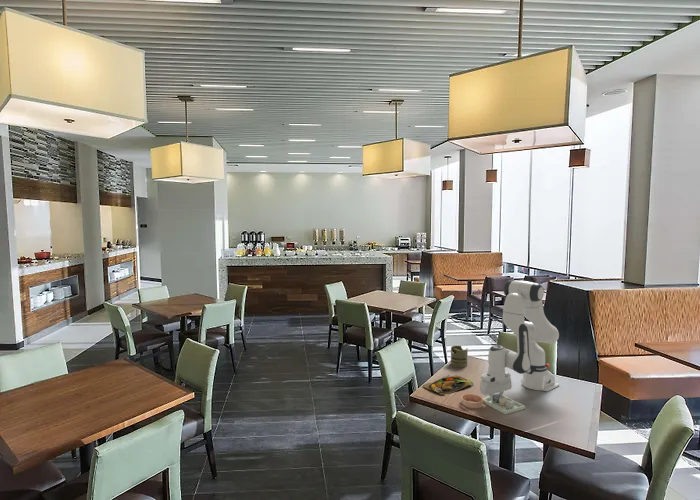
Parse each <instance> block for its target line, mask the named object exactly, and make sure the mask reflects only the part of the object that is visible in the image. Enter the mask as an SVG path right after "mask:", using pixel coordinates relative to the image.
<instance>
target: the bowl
mask: <svg viewBox="0 0 700 500" xmlns="http://www.w3.org/2000/svg"><path fill="white" fill-rule="evenodd" d="M483 398H484V397H483V396H481V395H478V394H476V393H464V394H462V395H461V396H460V403H461V405H462V406H463V407H464V408H466V407H467V408H469V409H480V408H483V406H484V404H485V403H484V400H483Z"/></svg>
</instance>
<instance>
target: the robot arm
mask: <svg viewBox="0 0 700 500" xmlns="http://www.w3.org/2000/svg"><path fill="white" fill-rule="evenodd" d="M503 294H504V296H505V300H504V303H503V304H504V305H503V311H502V322H503V324H504V325H505V326H506V328H508V329H509V330H511V332H513V334H514V335H515V337H516V342H517V352H516V351H514V350H511V349H508V348H506V347H504V346H503V345H499V344H496V345H492V346H490V348H489V351H488V354H487V355H488V358H487V361H488V368H487V371H486V372H484V373H482V374H481V375H480V386H479V387H480V388H479V392H480V393H481V395H483V396H488V397H490V400H491V401H494V397H493V396H492V395H493V394H494V393H496V394H499V395H500V397H502V395H504V392H506V391H509V390H511V389H512V386H513V385H512V384H513V383H512V378H511V374H510V373H509V372H506V369H507V368H508V369H510V370H512V371H514V372H516V373H517V374H519V375H520V374H521V375H522V378H521V386H523V387H525V388H526V389H530V390H534V391H542V392H543V391H544V392H549V391H551V390H553V389H555V388H557V387H559V386H560V383H558V382H557V381H556V377H555V375H554V374H553V373H552V372H550V371H549V370H548V368H550V366H551V364H550V363H546V352H545V350H544V348H543V347H541V346H540V345H539V344H538V342H540V343H544V344H555V343H556V342H557V341H558V340H559V337H560V333H559V330H558V329H557V327H556V326H555V325H553V324H552V323H551V322H550V321H549V320H548V318H547V317H546V314H545V311H544V303H543V297H544V294H545V289H544V287H543V286H542V284H541V283H538V282H533V281H527V280H515V279H510V280H507V281H505V283H504V284H503ZM525 318H526V320H525ZM527 320H528V321H527Z"/></svg>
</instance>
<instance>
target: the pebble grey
mask: <svg viewBox="0 0 700 500" xmlns="http://www.w3.org/2000/svg"><path fill="white" fill-rule="evenodd" d="M513 408H514V402H513V401H511V400H507V401H506V409H507V410H509V409H513Z"/></svg>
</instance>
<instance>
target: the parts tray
mask: <svg viewBox="0 0 700 500" xmlns="http://www.w3.org/2000/svg"><path fill="white" fill-rule="evenodd" d="M502 397H505V398H507V400H511V401H513V402H514V408H513V409H509V410H507V409H506V407H502V406H500V405H499V403H494V402H492V401H491V400H490V396H488V397H485V398H484V397H482V398H483V400H484V403H483V404H485V405H487V406H489V407H491V408H492V409H494V410H497V411H498V412H500V413H502V414H504V415H509V414H511V413H515V412H519V411H522V410H525V409H526V405H524V404H522V403H520V402H518V401H516V400H514V399H512V398H509V397H508V396H506V395H504V394H503V395H502Z"/></svg>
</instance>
